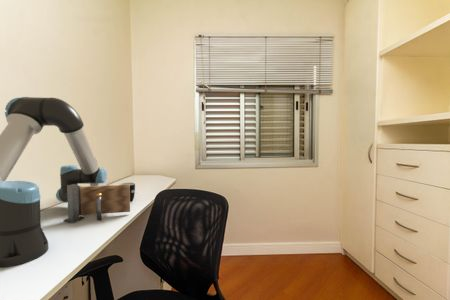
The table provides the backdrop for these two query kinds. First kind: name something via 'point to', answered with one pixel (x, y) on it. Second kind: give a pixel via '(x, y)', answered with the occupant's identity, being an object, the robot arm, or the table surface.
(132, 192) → the mug
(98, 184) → the fuel canister
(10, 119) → the robot arm
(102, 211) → the panel
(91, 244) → the table surface
